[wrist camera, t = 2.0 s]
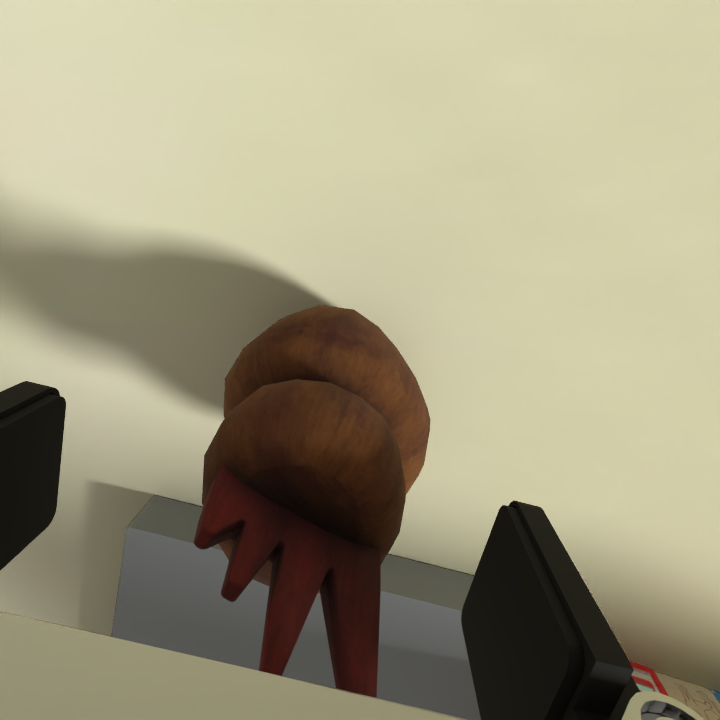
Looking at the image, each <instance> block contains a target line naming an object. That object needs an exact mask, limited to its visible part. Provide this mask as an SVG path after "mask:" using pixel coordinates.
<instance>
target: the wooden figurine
mask: <svg viewBox="0 0 720 720" xmlns="http://www.w3.org/2000/svg"><path fill="white" fill-rule="evenodd" d="M224 418H225V419H224V420H223V422H222V424H221V425H220V427H219V429H218V431H217V433H216V435H215V437H214V438H213V440H212V442H211V444H210V446H209V448H208V450H207V451H206V453H205V455H204V472H203V493H202V504H203V509H202V512H201V515H200V518H199V521H198V525H197V530H196V534H195V538H194V544H195V546H196V547H197V548H199V549H202V550H204V549H208V548H210V547H212V546H214V545H216V544H219V545H220V547H221V549H222V550H223V552H224V554H225V555H226V557H227V558H228V560H229V563H228V567H227V571H226V574H225V578H224V582H223V586H222V589H221V595H222V597H223V598H225V599H226V600H228V601H230V602H234V601H236V600H237V598H238V597H239V596H240V595H241V593H242V592H243V591H244V590H245V588H246V587H247V586H248V584H249V583H250V582H251V581H252V579H253V580H255V581H258V582H260V583H262V584H264V585H267V586H269V594H268V602H267V610H266V618H265V626H264V634H263V642H262V649H261V657H260V665H259V671H262V672H266V673H271V674H275V675H280V676H282V674H283V672H284V670H285V667H286V665H287V663H288V661H289V658H290V656H291V654H292V651H293V649H294V647H295V644H296V642H297V640H298V637H299V635H300V633H301V630H302V628H303V626H304V623H305V621H306V619H307V616H308V614H309V612H310V610H311V607H312V605H313V603H314V600H315V598H316V596H317V594H318V593H320V596H321V602H322V608H323V614H324V620H325V626H326V632H327V638H328V644H329V650H330V656H331V661H332V667H333V673H334V679H335V685H336V689H341V690H345V691H349V692H353V693H358V694H362V695H366V696H370V697H375V698H377V673H378V647H379V622H380V596H381V564H382V562H383V560H384V559H385V557H386V555H387V554H388V552H389V550H390V549H391V547H392V545H393V543H394V541H395V540H396V538H397V536H398V534H399V532H400V527H401V521H402V516H403V510H404V505H405V497H406V494H407V492H408V491H409V489H410V488H411V486H412V485H413V483H414V481H415V480H416V478H417V477H418V475H419V473H420V471H421V469H422V467H423V465H424V461H425V455H426V449H427V443H428V437H429V431H430V417H429V413H428V409H427V406H426V403H425V400H424V398H423V395H422V393H421V390H420V387H419V385H418V382H417V380H416V378H415V376H414V374H413V373H412V371H411V369H410V368H409V366H408V365H407V363H406V362H405V360H404V359H403V357H402V355H401V354H400V352H399V351H398V349H397V348H396V347H395V345H394V344H393V343H392V342H391V341H390V340H389V339H388V337H387V336H386V335H385V334H384V333H383V332H382V330H381V329H380V328H379V327H378V326H376V325H375V324H374V323H372V322H371V321H369V320H368V319H366V318H365V317H364V316H362V315H361V314H359V313H358V312H356V311H355V310H352V309H344V308H337V307H329V306H316V307H313V308H310V309H307V310H304V311H302V312H299V313H296V314H293V315H290V316H287V317H285V318H282V319H280V320H279V321H277V322H276V323H275V324H274V325H272V326H271V327H270V328H268V329H267V330H266V331H265V332H263V333H262V334H261V335H260V336H258V337H257V338H256V339H254V340H253V341H252V342H251V343H249V344H248V345H247V346H246V347H244V349H243V350H242V352H241V354H240V355H239V357H238V358H237V360H236V362H235V363H234V365H233V367H232V368H231V370H230V372H229V373H228V375H227V376H226V378H225V395H224Z"/></svg>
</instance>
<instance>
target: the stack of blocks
mask: <svg viewBox="0 0 720 720" xmlns="http://www.w3.org/2000/svg"><path fill="white" fill-rule="evenodd" d="M630 664H631V665H632V667H633V669H634V671H633V673H632V675H631V676H632V677H633V679H634V681H635V683H636V685H637V686H638V688H639V690H640V692H642V691H652V692H658V693H661V694H664V695H666V696H669V697H671V698H674V699H676V700H677V701H679V702H681V703H682V704H684V705H686V706H687V707H689V708H691V709H692V710H693V711H695V712H696V713H697V714H698V715H700V716H701V717H702V718H704V719H705V720H720V692H717V691H711V690H708V689H706V688H704V687H701V686H698V685H694V684H691V683H688V682H685V681H682V680H679V679H676V678H673V677H670V676H667V675H664V674H661V673H658V672H654V671H653V670H652V669H650V668H647V667H644V666H641V665H638V664H635V663H632V662H630Z"/></svg>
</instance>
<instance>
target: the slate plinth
mask: <svg viewBox="0 0 720 720" xmlns="http://www.w3.org/2000/svg"><path fill="white" fill-rule="evenodd" d="M202 509H203V507H200V506H196V505H192V504H188V503H184V502H180V501H176V500H172V499H168V498H164V497H160V496H156V495H154V496H153V497H152V498H151V500H150V501H149V502H148V503H147V504H146V505H145V507H144V508H143V509H142V510H141V511H140V512H139V513H138V515H137V516H136V517H135V518H134V519H133V520H132V521H131V523H130V524H129V525H128V526H127V530H126V537H125V544H124V552H123V559H122V566H121V573H120V580H119V587H118V594H117V601H116V608H115V615H114V622H113V629H112V636H111V637H114V638H118V639H123V640H127V641H132V642H136V643H140V644H145V645H149V646H153V647H158V648H162V649H166V650H171V651H175V652H179V653H184V654H188V655H192V656H197V657H201V658H205V659H210V660H214V661H219V662H223V663H227V664H232V665H236V666H240V667H245V668H249V669H253V670H258V671H259V665H260V657H261V649H262V642H263V634H264V626H265V618H266V610H267V602H268V594H269V586H267V585H264V584H262V583H260V582H258V581H255V580H253V579H252V581H251V582H250V583H249V584H248V586H247V587H246V588H245V590H244V591H243V592H242V593H241V595H240V596H239V597H238V598H237V600H236V601H234V602H230V601H228V600H226V599H225V598H223V597H222V595H221V589H222V586H223V582H224V578H225V574H226V571H227V567H228V563H229V560H228V558H227V557H226V555H225V554H224V552H223V550H222V549H221V547H220V545H219V544H216V545H214V546H212V547H210V548H208V549H204V550H202V549H199V548H197V547H196V546H195V544H194V538H195V534H196V530H197V525H198V521H199V518H200V515H201V512H202ZM473 578H474V576H472V575H468V574H465V573H461V572H457V571H453V570H449V569H445V568H441V567H437V566H433V565H429V564H425V563H421V562H417V561H413V560H409V559H405V558H401V557H397V556H393V555H389V554H387V555H386V557H385V559H384V560H383V562H382V564H381V596H380V622H379V647H378V673H377V698H379V699H383V700H387V701H392V702H396V703H400V704H404V705H409V706H413V707H417V708H421V709H425V710H430V711H434V712H438V713H442V714H447V715H451V716H455V717H459V718H464V719H468V720H481V717H480V712H479V708H478V703H477V698H476V693H475V688H474V683H473V678H472V674H471V669H470V664H469V659H468V654H467V649H466V644H465V640H464V635H463V630H462V624H461V615H462V608H463V605H464V602H465V599H466V597H467V594H468V592H469V589H470V586H471V584H472V581H473ZM282 676H284V677H288V678H293V679H297V680H301V681H306V682H310V683H314V684H319V685H323V686H328V687H332V688H336V685H335V679H334V673H333V667H332V661H331V656H330V650H329V644H328V638H327V632H326V626H325V620H324V614H323V608H322V602H321V596H320V593H318V594H317V596H316V598H315V600H314V603H313V605H312V607H311V610H310V612H309V614H308V616H307V619H306V621H305V623H304V626H303V628H302V630H301V633H300V635H299V637H298V640H297V642H296V644H295V647H294V649H293V651H292V654H291V656H290V658H289V661H288V663H287V665H286V667H285V670H284V672H283V674H282Z"/></svg>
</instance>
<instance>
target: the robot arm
mask: <svg viewBox="0 0 720 720" xmlns="http://www.w3.org/2000/svg"><path fill="white" fill-rule="evenodd" d="M65 410H66V401H65V399H64V398H63V397H60V394H59V391H58V390H57V389H56V388H53V387H49V386H44V385H40V384H36V383H32V382H28V381H25V382H22V383H19V384H17V385H15V386H13V387H11V388H8V389H6V390H4V391H2V392H0V570H1V569H2V568H4V567H5V566H6V565H7V564H8V563H9V562H10V561H11V560H12V559H13V558H14V557H15V556H17V555H18V554H19V553H20V552H21V551H22V550H23V549H24V548H25V547H26V546H27V545H28V544H30V543H31V542H32V541H33V540H34V539H35V538H36V537H37V536H38V535H39V534H40V533H41V532H43V531H44V530H45V529H46V528H47V527H48V526H49V524H50V523H51V521H52V519H53V517H54V515H55V512H56V507H57V496H58V485H59V475H60V464H61V453H62V442H63V431H64V421H65ZM461 624H462V630H463V635H464V640H465V644H466V649H467V654H468V659H469V664H470V669H471V674H472V678H473V683H474V688H475V693H476V698H477V703H478V708H479V712H480V717H481V720H705V719H704V718H702V717H701V716H700V715H698V714H697V713H696V712H695V711H693V710H692V709H691V708H689V707H687V706H686V705H684V704H682V703H681V702H679V701H677V700H676V699H674V698H671V697H669V696H666V695H664V694H661V693H658V692H652V691H642V692H640V690H639V688H638V686H637V685H636V683H635V681H634V679H633V677H632V676H631V675H632V673H633V671H634V669H633V667H632V665H631V664H630V662H629V660H628V658H627V656H626V655H625V653H624V651H623V649H622V648H621V646H620V644H619V642H618V641H617V639H616V637H615V635H614V634H613V632H612V630H611V628H610V627H609V625H608V623H607V621H606V620H605V618H604V616H603V614H602V613H601V611H600V609H599V607H598V606H597V604H596V602H595V600H594V599H593V597H592V595H591V593H590V592H589V590H588V588H587V586H586V585H585V583H584V581H583V579H582V578H581V576H580V574H579V572H578V571H577V569H576V567H575V565H574V564H573V562H572V560H571V558H570V557H569V555H568V553H567V551H566V550H565V548H564V546H563V544H562V542H561V541H560V539H559V537H558V535H557V534H556V532H555V530H554V528H553V527H552V525H551V523H550V521H549V520H548V518H547V516H546V514H545V513H544V511H543V509H542V508H541V507H538V506H534V505H529V504H525V503H521V502H517V501H512V502H511V503H510V504H509V506H505V505H503V506H502V507H501V508H500V510H499V512H498V514H497V517H496V520H495V522H494V525H493V528H492V530H491V533H490V536H489V538H488V541H487V544H486V546H485V549H484V552H483V554H482V557H481V560H480V562H479V565H478V568H477V570H476V573H475V576H474V578H473V581H472V584H471V586H470V589H469V592H468V594H467V597H466V599H465V602H464V605H463V608H462V615H461ZM0 720H468V719H464V718H459V717H455V716H451V715H447V714H442V713H438V712H434V711H430V710H425V709H421V708H417V707H413V706H409V705H404V704H400V703H396V702H392V701H387V700H383V699H379V698H375V697H370V696H366V695H362V694H358V693H353V692H349V691H345V690H341V689H336V688H332V687H328V686H323V685H319V684H314V683H310V682H306V681H301V680H297V679H293V678H288V677H284V676H280V675H275V674H271V673H266V672H262V671H258V670H253V669H249V668H245V667H240V666H236V665H232V664H227V663H223V662H219V661H214V660H210V659H205V658H201V657H197V656H192V655H188V654H184V653H179V652H175V651H171V650H166V649H162V648H158V647H153V646H149V645H145V644H140V643H136V642H132V641H127V640H123V639H118V638H114V637H110V636H105V635H101V634H97V633H92V632H88V631H84V630H79V629H75V628H71V627H66V626H62V625H58V624H53V623H49V622H45V621H40V620H36V619H32V618H27V617H23V616H19V615H14V614H10V613H5V612H1V611H0Z"/></svg>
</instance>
